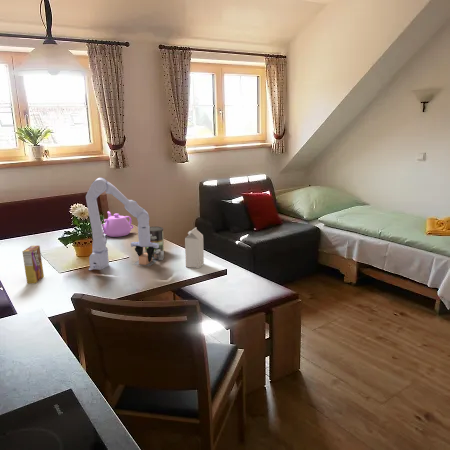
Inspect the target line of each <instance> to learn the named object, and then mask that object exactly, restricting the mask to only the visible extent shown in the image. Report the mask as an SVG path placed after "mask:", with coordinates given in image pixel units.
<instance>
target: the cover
mask: <svg viewBox="0 0 450 450" xmlns="http://www.w3.org/2000/svg"><path fill="white" fill-rule="evenodd" d="M138 260H139V264H143V265H147V264H148V263H150V262H151V261H152V259H151V261H150V262H148V254H147V253H145V252H143V254H142V255H140V256H138Z"/></svg>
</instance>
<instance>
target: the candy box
mask: <svg viewBox="0 0 450 450" xmlns="http://www.w3.org/2000/svg"><path fill="white" fill-rule="evenodd" d="M41 254H42V253H41V246H40V245H30V246H29V247H27V248H25V249H24V250H22V257H23V264H24V266H23V267H24V270H25V278H26V284H31V285H32V284H35V285H36V284H37V283H39V281H40V280H41V279H43V278H44V276H45V274H44V268H43V260H42V255H41Z"/></svg>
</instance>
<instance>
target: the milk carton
mask: <svg viewBox="0 0 450 450" xmlns="http://www.w3.org/2000/svg"><path fill="white" fill-rule="evenodd" d="M187 234H188V235H187V236H185V238H184V248H185V249H184V250H185V251H184V253H185V254H184V255H185V267H186V268H193V269H195V268H196V269H200V268H201V267H202V266H203V265H204V264H205V263H204V262H205V259H204V257H205V256H204V234H203V233H201V232H200V231H199V230H198V229H197V227H196V226H195V227H194V228H193V229H192V230H189V231H188V232H187Z"/></svg>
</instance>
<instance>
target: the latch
mask: <svg viewBox="0 0 450 450" xmlns="http://www.w3.org/2000/svg"><path fill="white" fill-rule="evenodd" d="M164 252H165V250H164V251H162V250H160V249H157V250H155V251H154V255H153V256H154V259H157V260H158V261H163V260H164V259H165V253H164Z"/></svg>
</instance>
